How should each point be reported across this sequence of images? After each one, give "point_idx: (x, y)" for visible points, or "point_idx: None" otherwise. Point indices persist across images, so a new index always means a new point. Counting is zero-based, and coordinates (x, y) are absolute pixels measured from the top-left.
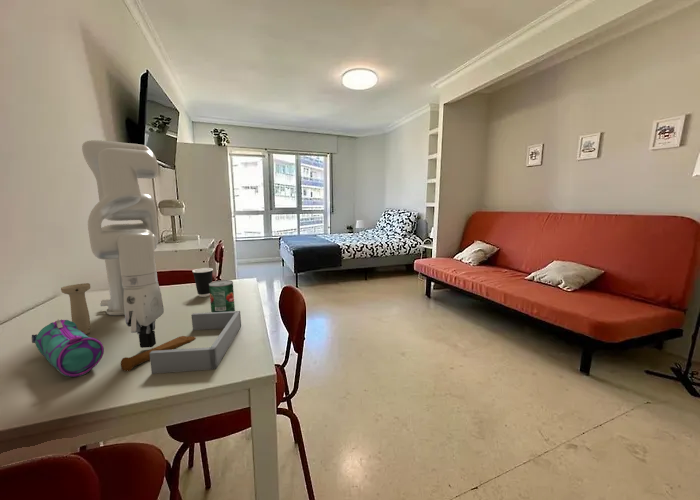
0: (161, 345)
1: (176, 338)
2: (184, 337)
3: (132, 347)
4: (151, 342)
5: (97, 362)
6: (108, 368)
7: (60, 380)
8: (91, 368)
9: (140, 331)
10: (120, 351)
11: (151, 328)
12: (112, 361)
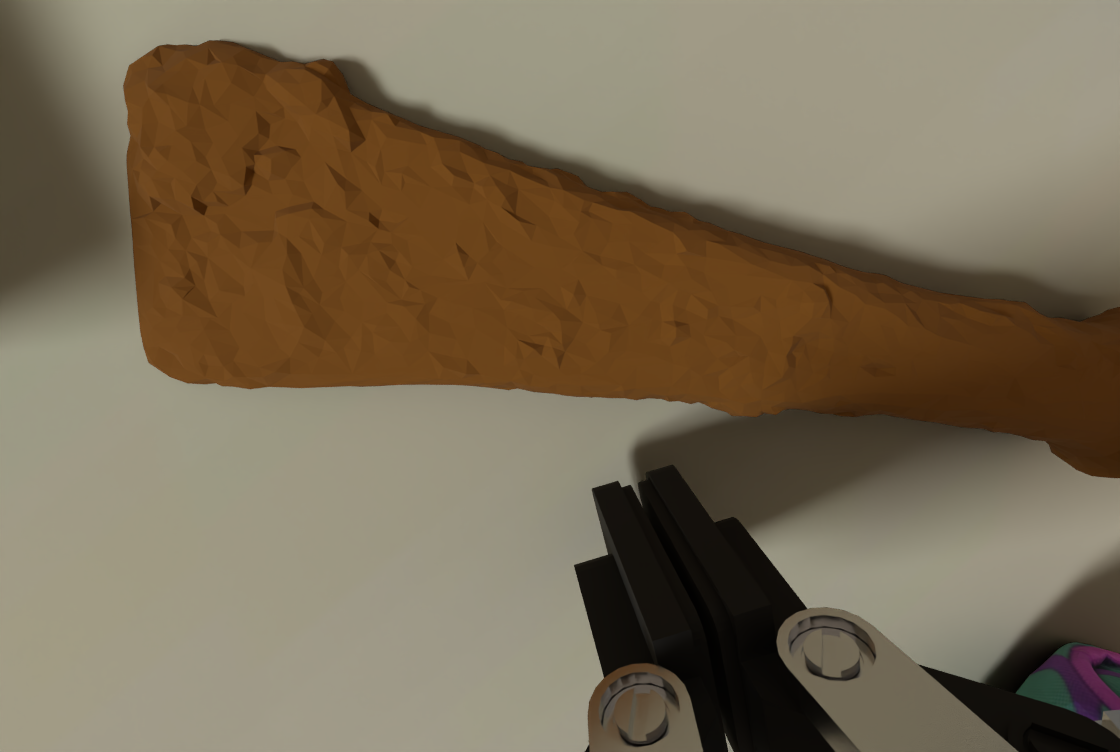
0: (658, 355)
1: (313, 361)
2: (215, 273)
3: None
4: (694, 507)
5: (1089, 667)
6: (1002, 557)
7: None
8: (1074, 653)
9: (1114, 711)
10: None
11: (691, 720)
12: None
